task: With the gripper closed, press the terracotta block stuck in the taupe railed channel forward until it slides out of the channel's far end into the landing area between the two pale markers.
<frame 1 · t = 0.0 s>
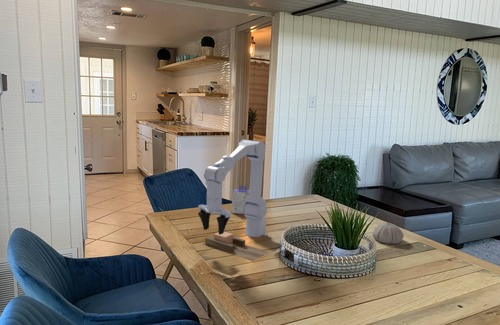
hand: (213, 231, 151), 10 cm above the table, tool pointing down, fingers open, 7 cm apart
sea urchin shell: (386, 240, 177), on the table
taupe railed channel: (234, 250, 159), on the table
ink cartridge box: (241, 213, 209), on the table
terracotta block: (223, 244, 162), point 1 cm above the table, touching taupe railed channel
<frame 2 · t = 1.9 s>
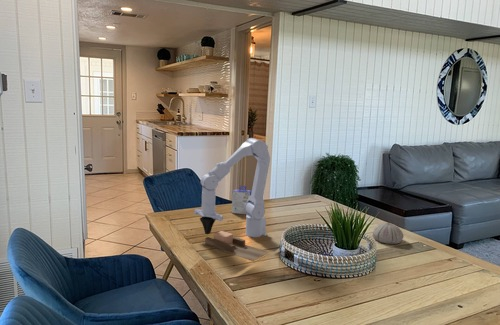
hand: (207, 233, 166), 4 cm above the table, tool pointing down, fingers closed
nothing on the table moved.
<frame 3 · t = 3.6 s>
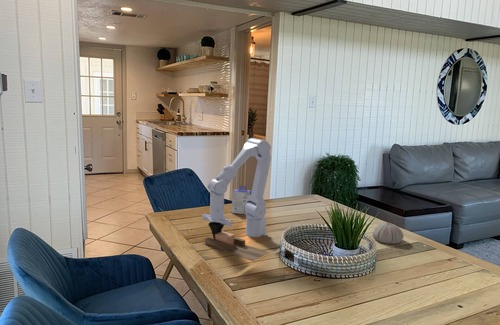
hand: (216, 238, 164), 2 cm above the table, tool pointing down, fingers closed
terracotta block: (224, 244, 162), point 1 cm above the table, touching gripper
everything else where it was.
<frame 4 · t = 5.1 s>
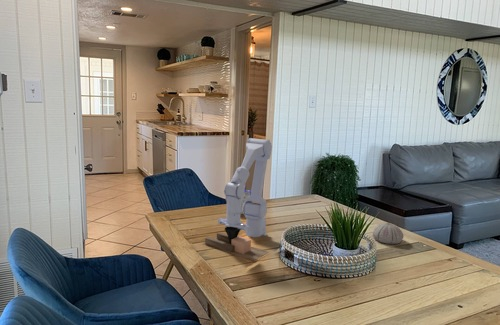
hand: (232, 243, 159), 2 cm above the table, tool pointing down, fingers closed
terracotta block: (240, 250, 157), point 1 cm above the table, touching gripper, taupe railed channel
everything else where it was.
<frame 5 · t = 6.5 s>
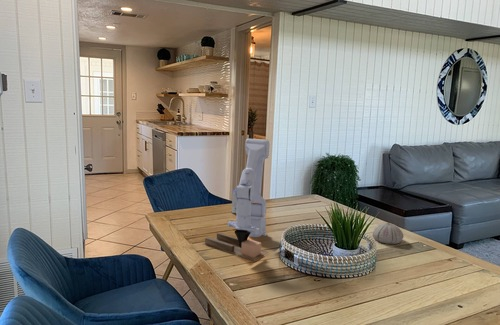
hand: (242, 247, 156), 2 cm above the table, tool pointing down, fingers closed
terracotta block: (251, 253, 154), point 1 cm above the table, touching gripper, taupe railed channel
everything else where it was.
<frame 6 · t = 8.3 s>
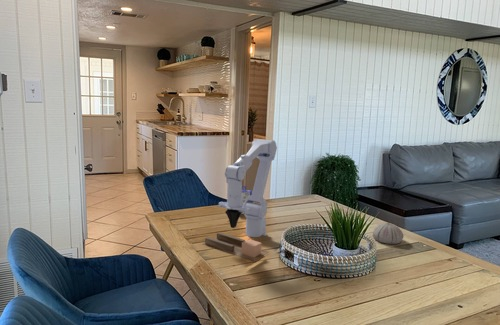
hand: (233, 227, 159), 9 cm above the table, tool pointing down, fingers closed
terracotta block: (251, 253, 154), point 1 cm above the table, touching taupe railed channel
everything else where it was.
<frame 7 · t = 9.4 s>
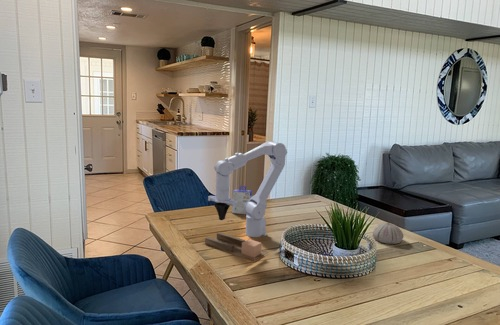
hand: (221, 219, 167), 9 cm above the table, tool pointing down, fingers closed
nothing on the table moved.
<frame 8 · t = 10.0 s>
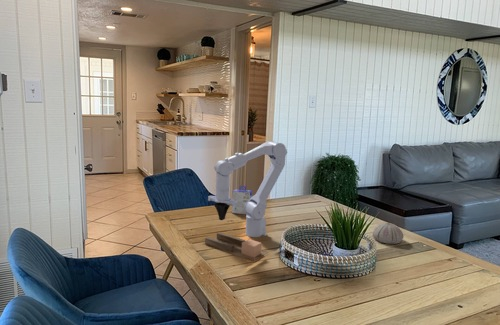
hand: (221, 219, 167), 9 cm above the table, tool pointing down, fingers closed
nothing on the table moved.
at the end: terracotta block inside the target area (0.3 cm from its centre), point 1.0 cm above the table; terracotta block tilted 0° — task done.
